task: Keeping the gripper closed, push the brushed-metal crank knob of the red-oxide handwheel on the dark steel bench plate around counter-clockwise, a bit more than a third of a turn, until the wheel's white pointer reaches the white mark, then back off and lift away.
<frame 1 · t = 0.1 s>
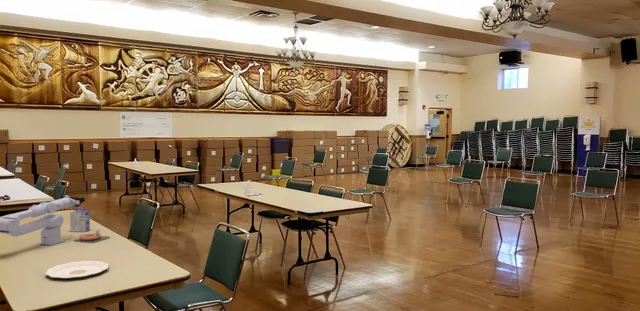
hand: (79, 198, 284), 22 cm above the table, tool horizontal, fingers open, 7 cm apart
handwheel: (90, 232, 273), point 4 cm above the table, hinge at 0.0°
bench plate: (92, 239, 274), on the table
ink cartridge box: (80, 231, 296), on the table
plate: (78, 273, 214), on the table
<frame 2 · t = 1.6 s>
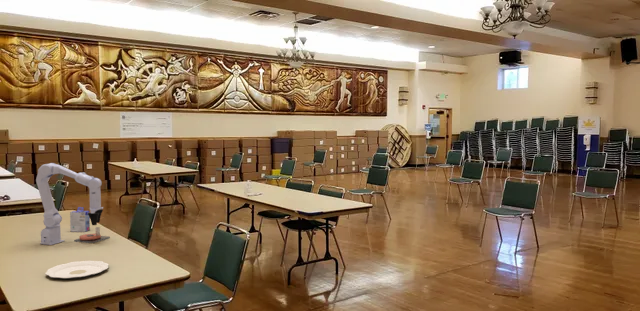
hand: (95, 223, 269), 10 cm above the table, tool pointing down, fingers open, 7 cm apart
nothing on the table moved.
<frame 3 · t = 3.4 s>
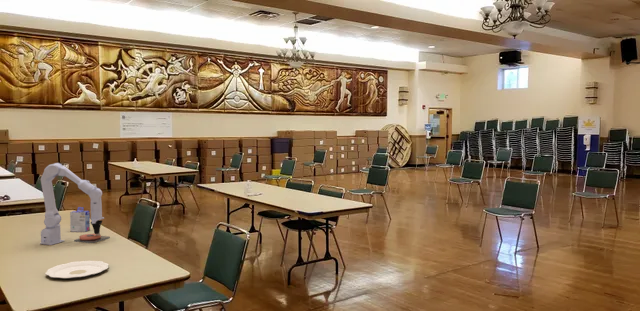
hand: (96, 233, 272), 4 cm above the table, tool pointing down, fingers closed, pressing on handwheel
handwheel: (90, 232, 273), point 4 cm above the table, hinge at 0.0°, touching gripper
everything else where it was.
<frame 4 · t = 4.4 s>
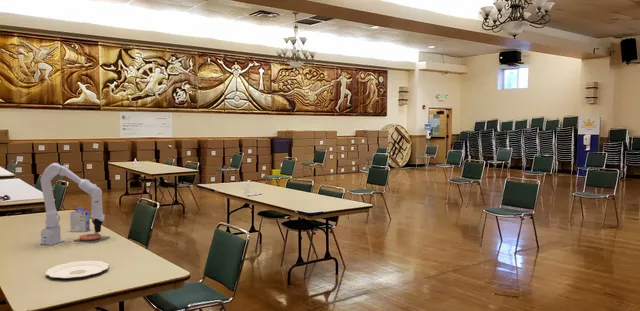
hand: (97, 232, 275), 4 cm above the table, tool pointing down, fingers closed, pressing on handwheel
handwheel: (90, 232, 273), point 4 cm above the table, hinge at 48.6°, touching gripper
everything else where it was.
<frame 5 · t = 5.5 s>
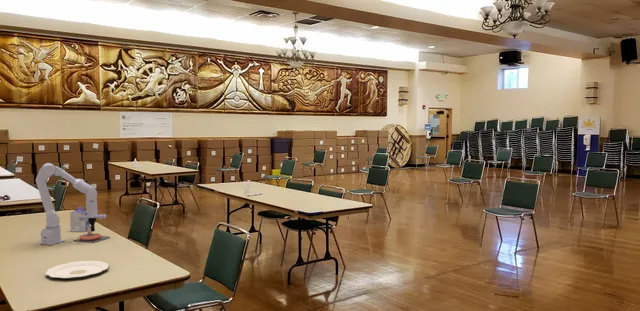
hand: (92, 231, 277), 4 cm above the table, tool pointing down, fingers closed, pressing on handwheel
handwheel: (90, 232, 273), point 4 cm above the table, hinge at 105.6°, touching gripper
everything else where it was.
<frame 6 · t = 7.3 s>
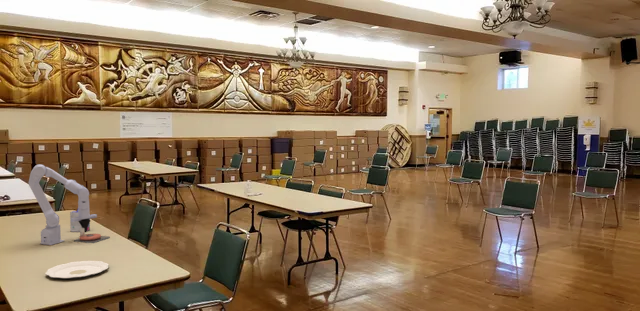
hand: (84, 232, 274), 4 cm above the table, tool pointing down, fingers closed, pressing on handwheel
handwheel: (90, 232, 273), point 4 cm above the table, hinge at 183.4°, touching gripper
everything else where it was.
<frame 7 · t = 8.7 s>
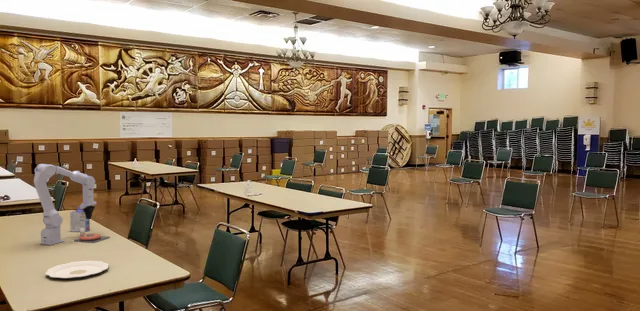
hand: (88, 218, 284), 10 cm above the table, tool pointing down, fingers closed
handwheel: (90, 232, 273), point 4 cm above the table, hinge at 183.4°
everything else where it was.
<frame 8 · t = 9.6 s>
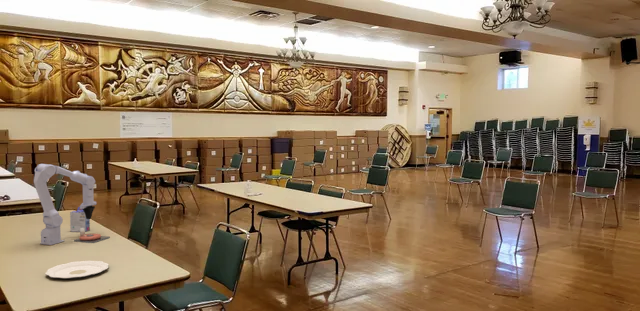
hand: (88, 218, 284), 10 cm above the table, tool pointing down, fingers closed
nothing on the table moved.
at the end: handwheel at +183° (first picture: +0°); the gripper is holding nothing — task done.
